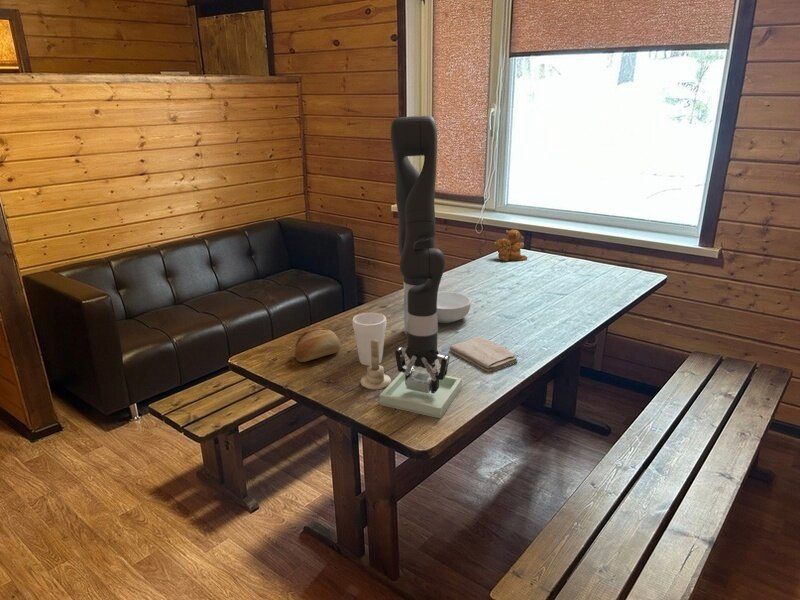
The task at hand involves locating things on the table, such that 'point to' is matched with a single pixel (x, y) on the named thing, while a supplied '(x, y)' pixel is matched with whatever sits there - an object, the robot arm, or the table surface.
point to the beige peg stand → (375, 371)
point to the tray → (421, 396)
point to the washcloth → (484, 353)
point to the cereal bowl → (451, 306)
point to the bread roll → (316, 344)
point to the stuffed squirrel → (510, 247)
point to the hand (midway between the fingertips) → (421, 389)
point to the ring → (419, 381)
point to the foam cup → (369, 334)
